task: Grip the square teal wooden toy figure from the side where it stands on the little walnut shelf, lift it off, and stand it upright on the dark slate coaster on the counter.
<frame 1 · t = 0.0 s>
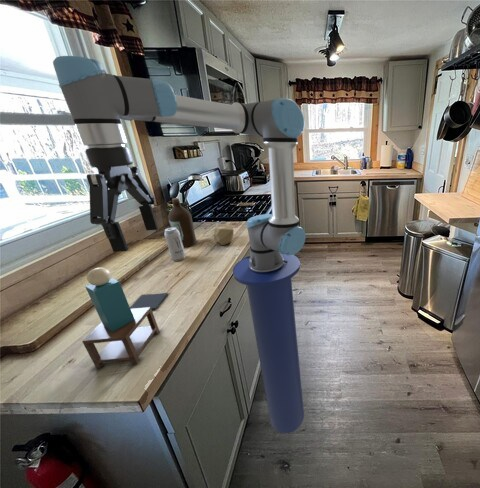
hand: (138, 239, 63), 31 cm above the counter, tool pointing down, fingers open, 13 cm apart
coaster: (148, 302, 91), on the counter
shelf: (130, 348, 72), on the counter
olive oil: (187, 244, 140), on the counter
energy drink can: (179, 258, 124), on the counter
chicken figurine: (226, 242, 141), on the counter
toy: (119, 322, 68), point 9 cm above the counter, touching shelf
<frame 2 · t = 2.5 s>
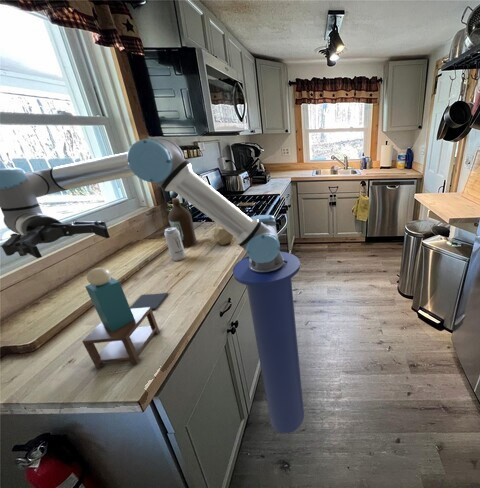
hand: (74, 242, 64), 30 cm above the counter, tool horizontal, fingers open, 13 cm apart
nothing on the counter moved.
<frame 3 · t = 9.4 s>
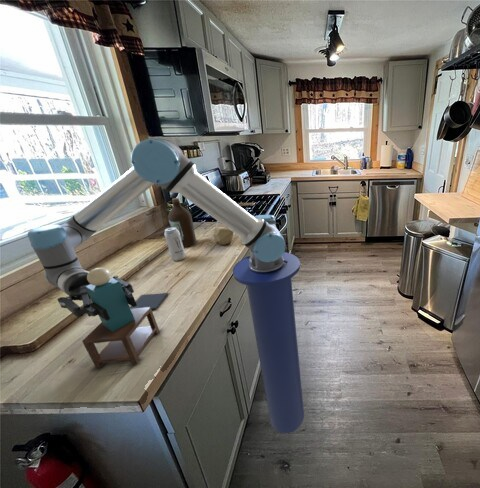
hand: (120, 308, 63), 16 cm above the counter, tool horizontal, fingers closed on toy, 5 cm apart
toy: (119, 322, 68), point 9 cm above the counter, touching gripper, shelf
everything else where it was.
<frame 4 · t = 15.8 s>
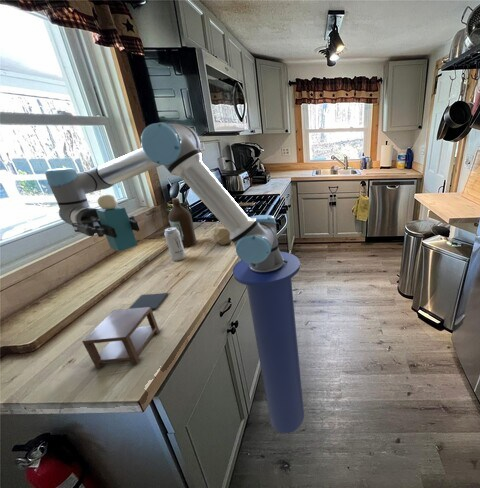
hand: (125, 229, 75), 29 cm above the counter, tool horizontal, fingers closed on toy, 5 cm apart
toy: (124, 246, 80), point 23 cm above the counter, touching gripper
everything else where it was.
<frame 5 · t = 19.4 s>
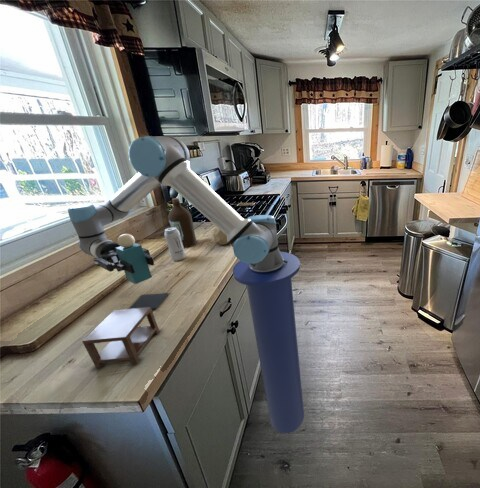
hand: (142, 265, 82), 16 cm above the counter, tool horizontal, fingers closed on toy, 5 cm apart
toy: (140, 278, 87), point 10 cm above the counter, touching gripper
everything else where it was.
when the fingers open (7 cm above the counter, at t = 22.2 s): toy stays where it is, resting on coaster.
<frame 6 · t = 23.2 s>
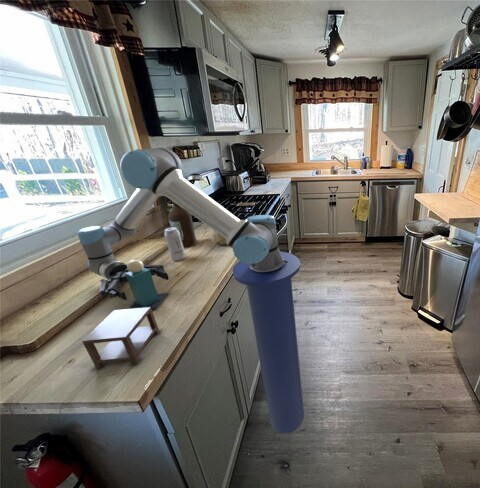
hand: (147, 285, 87), 8 cm above the counter, tool horizontal, fingers open, 13 cm apart
toy: (148, 301, 91), point 1 cm above the counter, touching coaster
everything else where it was.
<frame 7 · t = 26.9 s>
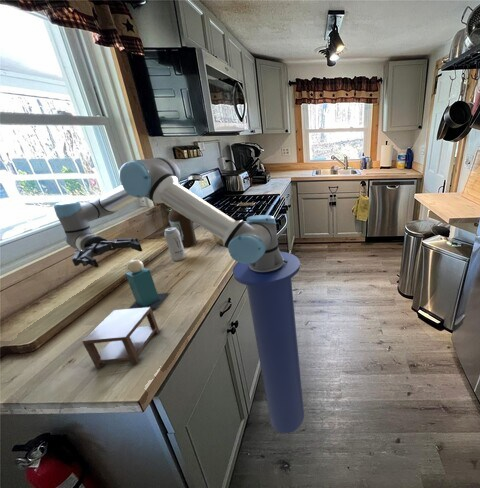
hand: (119, 255, 89), 17 cm above the counter, tool horizontal, fingers open, 13 cm apart
nothing on the counter moved.
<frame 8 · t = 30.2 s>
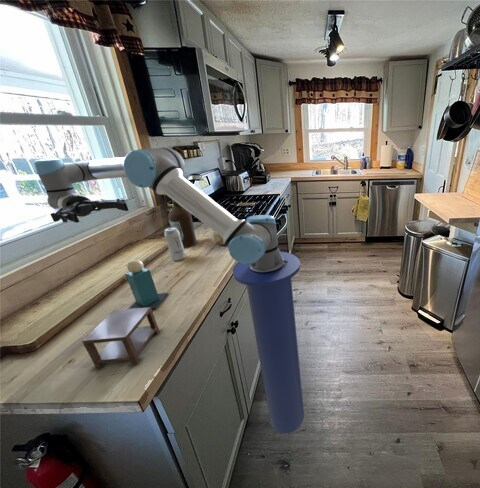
hand: (102, 212, 83), 32 cm above the counter, tool horizontal, fingers open, 13 cm apart
nothing on the counter moved.
at the end: toy 0.1 cm off-centre on the coaster, point 0.6 cm above the coaster's base; toy tilted 0°; the gripper is holding nothing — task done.
